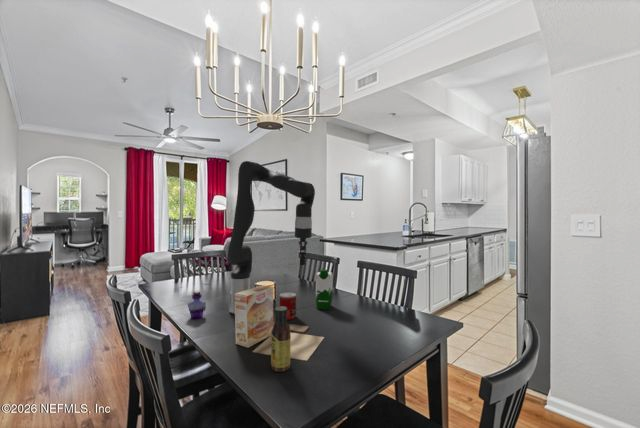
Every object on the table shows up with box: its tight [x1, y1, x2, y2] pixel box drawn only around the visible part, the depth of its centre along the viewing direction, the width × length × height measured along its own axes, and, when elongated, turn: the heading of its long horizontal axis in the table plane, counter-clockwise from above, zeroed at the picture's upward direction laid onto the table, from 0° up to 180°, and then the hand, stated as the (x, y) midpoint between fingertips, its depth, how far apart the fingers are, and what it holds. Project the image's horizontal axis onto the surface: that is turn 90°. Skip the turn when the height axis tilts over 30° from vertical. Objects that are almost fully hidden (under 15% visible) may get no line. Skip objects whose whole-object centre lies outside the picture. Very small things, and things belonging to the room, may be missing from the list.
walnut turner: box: [273, 321, 310, 334], centre depth 134 cm, size 21×6×1 cm, turn 72°
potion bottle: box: [187, 291, 207, 320], centre depth 146 cm, size 9×9×12 cm
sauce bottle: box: [270, 305, 291, 373], centre depth 100 cm, size 7×6×20 cm
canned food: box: [279, 291, 297, 321], centre depth 147 cm, size 8×8×11 cm
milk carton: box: [315, 269, 334, 310], centre depth 162 cm, size 9×9×20 cm
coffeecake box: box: [234, 285, 274, 349], centre depth 122 cm, size 15×7×20 cm, turn 148°
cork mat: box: [252, 331, 325, 362], centre depth 117 cm, size 21×20×1 cm
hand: (302, 263), depth 138 cm, fingers open, 8 cm apart
